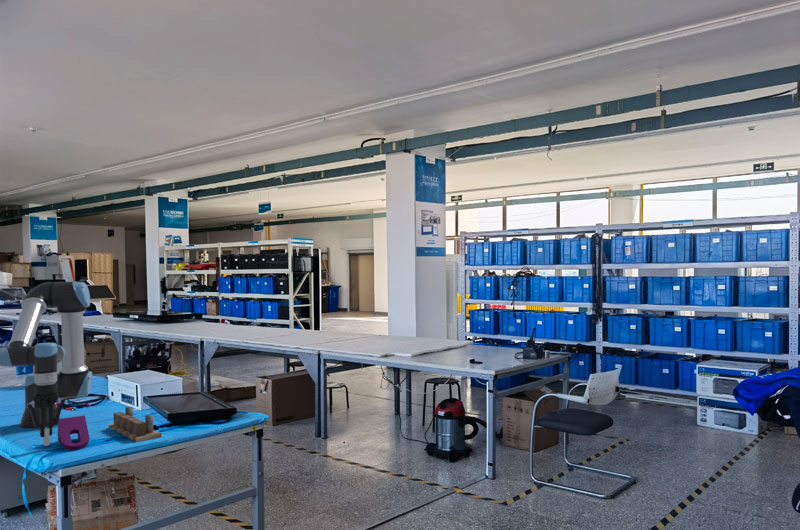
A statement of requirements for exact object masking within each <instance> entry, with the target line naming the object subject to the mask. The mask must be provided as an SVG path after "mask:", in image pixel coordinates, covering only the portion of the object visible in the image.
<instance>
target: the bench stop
mask: <svg viewBox="0 0 800 530" xmlns="http://www.w3.org/2000/svg"><path fill="white" fill-rule="evenodd" d="M124 408H125V412H122V411H118V412H113V423H108V425H107V427H109V428H108V429H110V428H111V429H110V430H112V429H113V430H112V431H114V430H115V431H114V432H116V431H117V432H119V433H121V434H123V435H124V437H125V436H126V438H127V439H130V440H132V441H134V442H136V443H139V442H144V441H148V440H152V439H158V438H162V434H163V433H162V432H160V431H158V430H156V429H154V414H146V415H145V417H144V419H145V420H143V421H142V420H140V419H139V418H136V417H134V407H133V406H126V407H124ZM117 432H116V433H117ZM119 433H118V434H119ZM121 434H120V435H121ZM123 435H122V436H123Z"/></svg>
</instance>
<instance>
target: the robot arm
mask: <svg viewBox="0 0 800 530" xmlns="http://www.w3.org/2000/svg"><path fill="white" fill-rule="evenodd" d="M88 287H89V286H88V285H87V283H85V282H84V281H47V282H43V283H41V284H38V285H37V286H35V287H33V288H32V289H31V290H30V291H28V292H27V293H26V295H25V296H24V297H23V299H22V302H21V305H20V307H21V311H20V312H21V313H20V314H19V317H18V320H17V323H16V325H15V327H14V330H13V333H12V336H11V338H10V341H9V344H8V346H5V347H0V367H4V368H7V367H9V368H12V367H24V366H25V367H26V366H33V365H34V367H35V373H34V374H33V373H31V374H29V375H27V376H26V377H25V382H24V395H25V396H24V410H23V413H22V415H21V418H20V428H36V429H39V437H40V438H42V445H43V446H45V447H47V446H50V437H51V436H53V427H54V426H58V421H59V419H61V417H60V416H61V412H62V408H63V405H64V404H65V402H66V399H79V398H85V397H88V395H89V394H90V392H91V388H92V384H93V383H92V382H93V372H92V371H90V370H89V367H88V366H87V365H86V364H85V349H84V348H85V346H84V344H85V343H84V341H85V340H84V315H83V314H84V313H86V311H87V308H89V307H90V305H91V295H90V290H89V288H88ZM49 308H50V309H51V308H52V309H56V312H57V314H58V315H60V319H61V320H60V322H61V345H60V344H57V343H56V342H42V343H41V342H40V343H36V344H35V345H34V346H33V341H34V339H35V336H36V333H37V331H38V326H39V323H40V321H41V318H42V315H43V314H44V313H45V312H46V311H47V309H49ZM61 360H62V368H61V369H60V370H59V374H57V363H59V362H60V361H61ZM56 404H57V405H56Z"/></svg>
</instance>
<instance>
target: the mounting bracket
mask: <svg viewBox="0 0 800 530" xmlns="http://www.w3.org/2000/svg"><path fill="white" fill-rule="evenodd" d="M74 434H75V435H77V440H78V439H79V440H80V441H79V440H78V441H79V442H72V438H71V435H74ZM58 442H59V443H61V444H60V445H61V447H62V448H63V449H65V450H67V449H68V450H67V451H75V450H80V449H84V448H86V447H87V446H88V445H89V443H90V434H89V429H88V425H87V420H86V416H85V415H78V416H71V417H64V418H63V417H62V418H60V419H59V421H58V424H57V443H58ZM59 443H58V444H59Z"/></svg>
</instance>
